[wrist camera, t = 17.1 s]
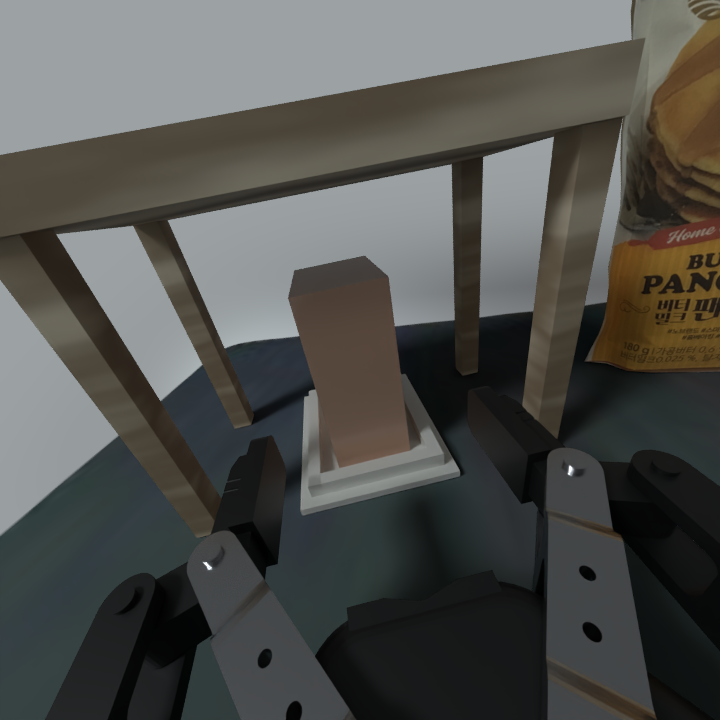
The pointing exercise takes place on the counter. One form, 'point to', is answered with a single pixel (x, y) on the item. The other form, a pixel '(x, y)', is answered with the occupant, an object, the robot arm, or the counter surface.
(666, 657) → the counter surface
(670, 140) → the pancake mix bag
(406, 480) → the tray
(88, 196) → the small wooden table
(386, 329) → the plain brown box
